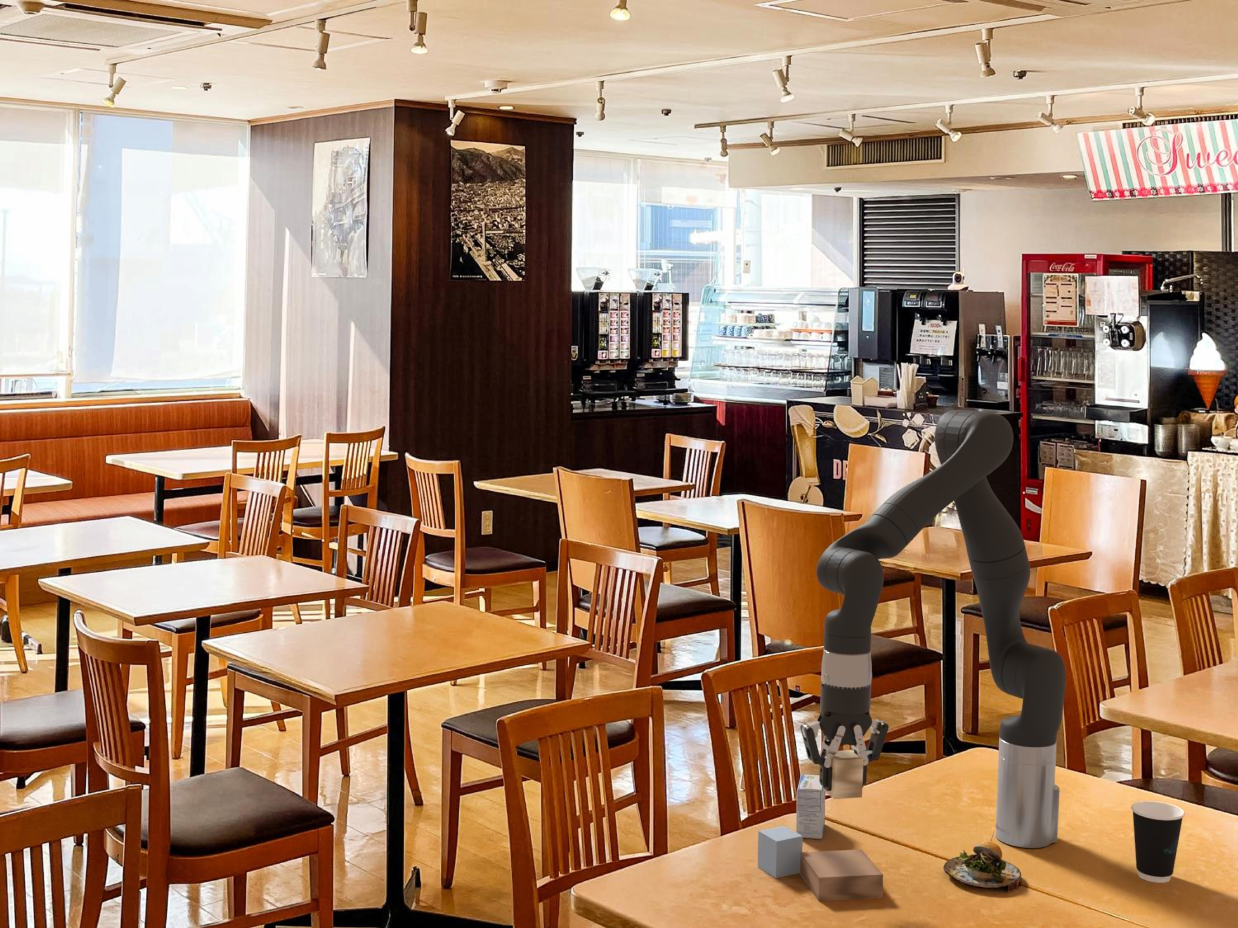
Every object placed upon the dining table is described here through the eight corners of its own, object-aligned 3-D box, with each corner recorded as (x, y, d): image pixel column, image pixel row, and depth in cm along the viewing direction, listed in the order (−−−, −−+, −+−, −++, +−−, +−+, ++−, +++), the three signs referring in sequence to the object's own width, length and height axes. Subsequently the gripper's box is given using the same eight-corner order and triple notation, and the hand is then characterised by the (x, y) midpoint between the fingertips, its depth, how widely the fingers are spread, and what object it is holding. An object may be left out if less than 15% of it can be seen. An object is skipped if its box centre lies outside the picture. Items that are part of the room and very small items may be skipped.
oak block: (850, 787, 217) (851, 749, 216) (861, 797, 213) (863, 758, 212) (823, 789, 216) (824, 751, 215) (834, 799, 212) (835, 760, 211)
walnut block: (861, 873, 221) (861, 849, 221) (882, 899, 212) (883, 874, 211) (799, 876, 220) (800, 852, 220) (818, 902, 210) (819, 877, 210)
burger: (928, 871, 222) (930, 826, 222) (989, 860, 227) (990, 816, 226) (975, 900, 211) (977, 853, 211) (1038, 889, 216) (1040, 842, 215)
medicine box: (822, 840, 235) (823, 790, 234) (795, 838, 236) (796, 788, 235) (824, 823, 242) (826, 775, 241) (799, 821, 243) (800, 773, 242)
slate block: (783, 861, 225) (784, 825, 225) (801, 872, 221) (802, 835, 220) (757, 867, 223) (758, 830, 222) (775, 878, 218) (776, 841, 218)
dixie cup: (1183, 889, 216) (1187, 820, 214) (1128, 882, 218) (1132, 814, 217) (1179, 870, 223) (1182, 803, 222) (1126, 864, 226) (1129, 797, 224)
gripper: (879, 671, 218) (875, 777, 219) (793, 674, 214) (789, 783, 216) (900, 683, 211) (896, 793, 212) (810, 687, 207) (807, 799, 209)
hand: (842, 787), depth 214 cm, fingers closed on oak block, 4 cm apart
